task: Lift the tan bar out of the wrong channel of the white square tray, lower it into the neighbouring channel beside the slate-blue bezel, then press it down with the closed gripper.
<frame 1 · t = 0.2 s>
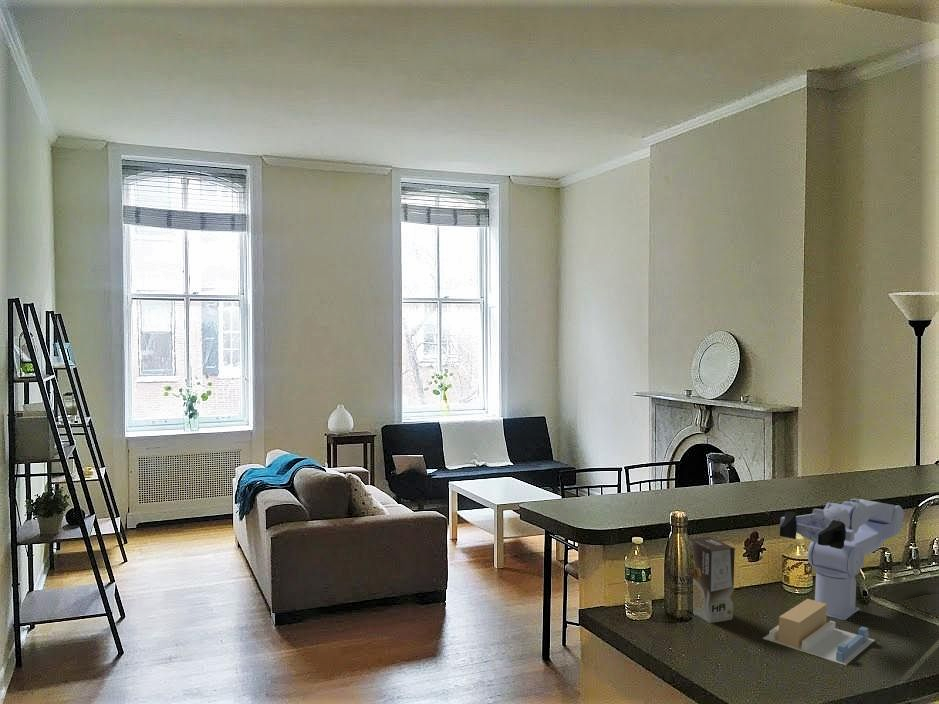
hand: (800, 535, 158), 21 cm above the countertop, tool horizontal, fingers open, 7 cm apart
coffee box: (708, 616, 170), on the countertop
tan bar: (802, 634, 159), point 1 cm above the countertop, touching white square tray
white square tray: (818, 642, 157), on the countertop
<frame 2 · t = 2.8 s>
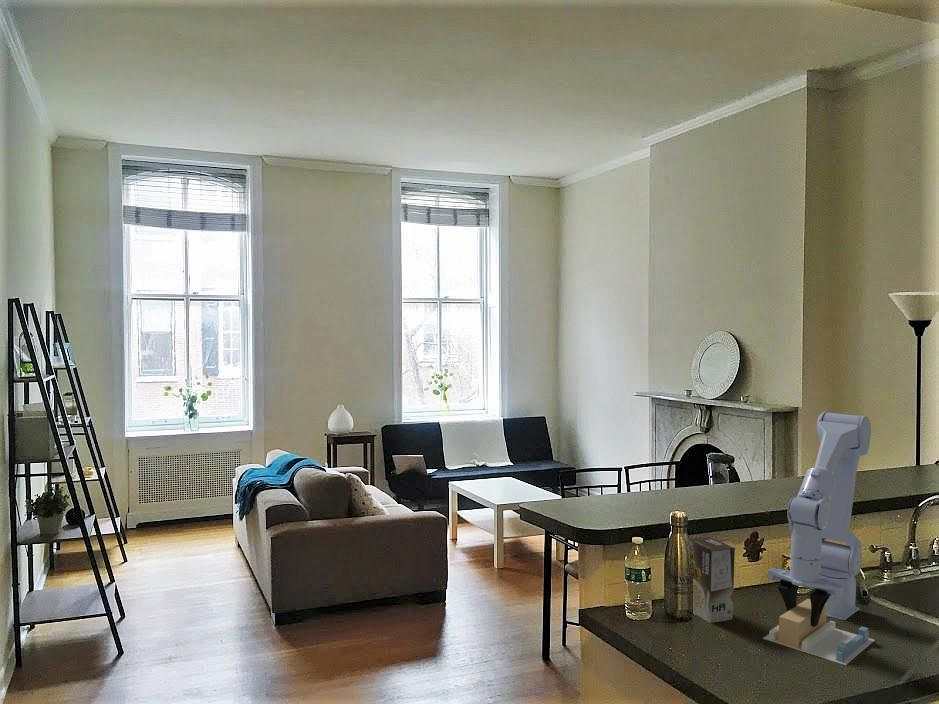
hand: (803, 621, 159), 3 cm above the countertop, tool pointing down, fingers closed on tan bar, 4 cm apart
tan bar: (802, 634, 159), point 1 cm above the countertop, touching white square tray, gripper
everything else where it was.
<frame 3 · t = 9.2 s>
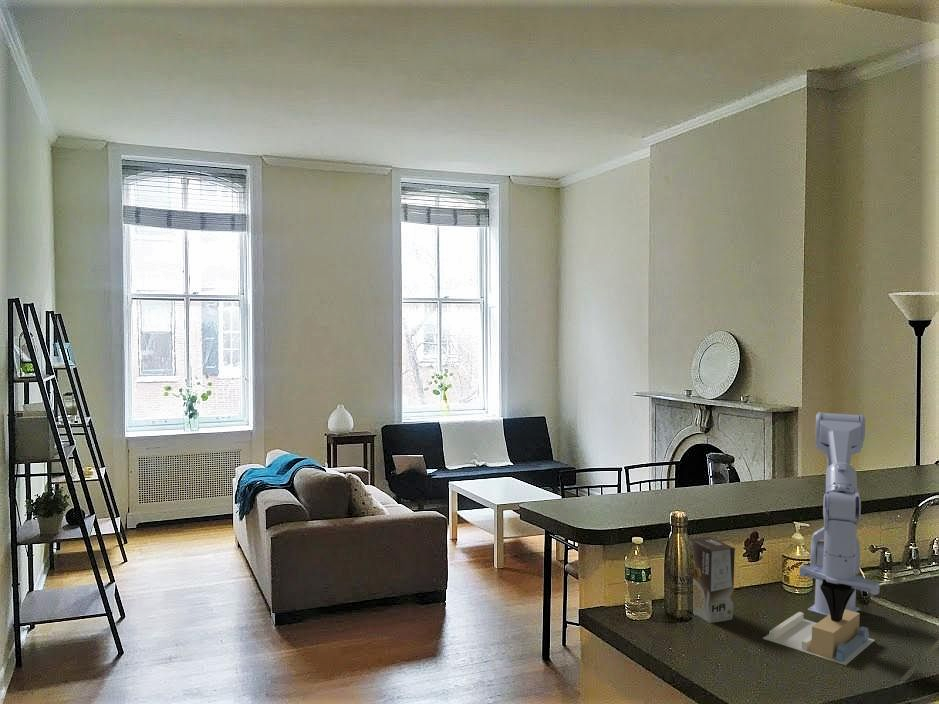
hand: (836, 620, 155), 5 cm above the countertop, tool pointing down, fingers closed, pressing on tan bar
tan bar: (835, 644, 155), point 1 cm above the countertop, touching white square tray, gripper
everything else where it was.
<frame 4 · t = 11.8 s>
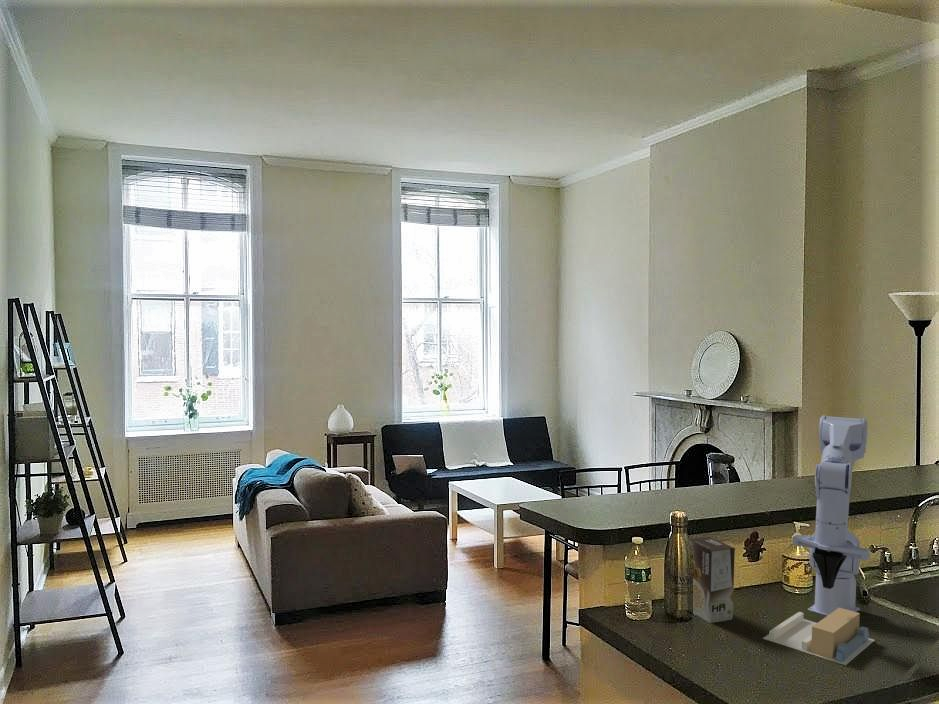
hand: (828, 587, 159), 10 cm above the countertop, tool pointing down, fingers closed
tan bar: (835, 644, 155), point 1 cm above the countertop, touching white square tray
everything else where it was.
at the end: tan bar 0.1 cm from the target spot on the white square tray, point 0.6 cm above the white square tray's base; tan bar tilted 0°; the gripper is holding nothing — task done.
